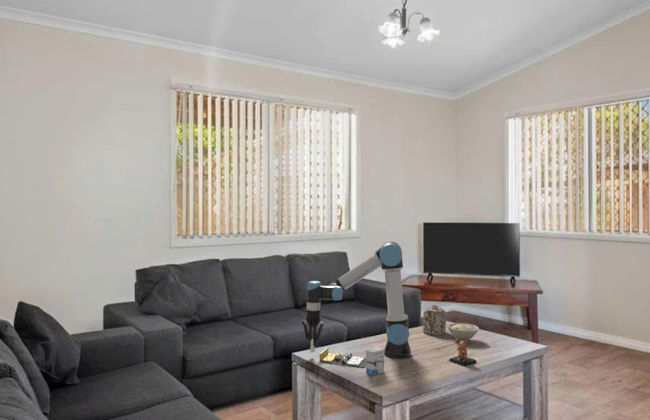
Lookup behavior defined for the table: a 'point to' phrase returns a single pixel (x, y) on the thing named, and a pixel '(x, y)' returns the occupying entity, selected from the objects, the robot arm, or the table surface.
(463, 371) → the table surface
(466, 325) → the bowl
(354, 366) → the grey two-tone fixture
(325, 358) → the loose leaf
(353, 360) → the fixed leaf
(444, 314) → the decorative jar
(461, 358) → the figurine
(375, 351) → the ink box
